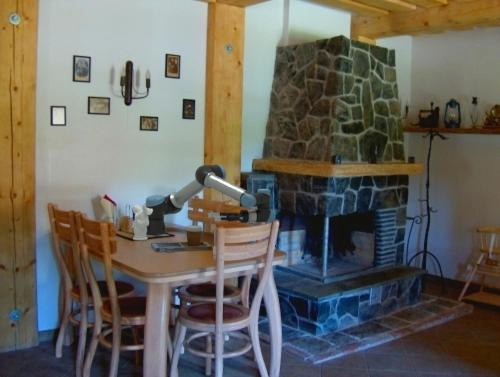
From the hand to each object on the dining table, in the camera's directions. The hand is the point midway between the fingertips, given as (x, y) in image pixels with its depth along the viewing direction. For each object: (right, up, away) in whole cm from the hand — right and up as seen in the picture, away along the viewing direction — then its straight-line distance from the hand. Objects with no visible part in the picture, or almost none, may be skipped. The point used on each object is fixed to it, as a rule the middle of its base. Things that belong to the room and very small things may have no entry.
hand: (211, 217), depth 325 cm
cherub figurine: (-42, -14, +20) cm, 49 cm away
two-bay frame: (-17, -17, -4) cm, 24 cm away
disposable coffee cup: (-10, -17, -1) cm, 20 cm away
